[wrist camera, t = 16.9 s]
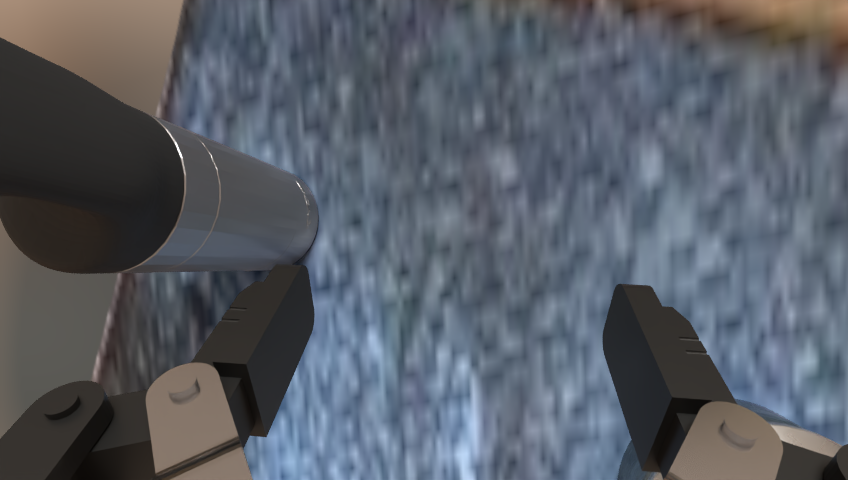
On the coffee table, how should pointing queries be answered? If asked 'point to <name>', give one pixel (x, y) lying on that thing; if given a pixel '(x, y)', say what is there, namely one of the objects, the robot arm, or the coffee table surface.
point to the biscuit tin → (633, 476)
